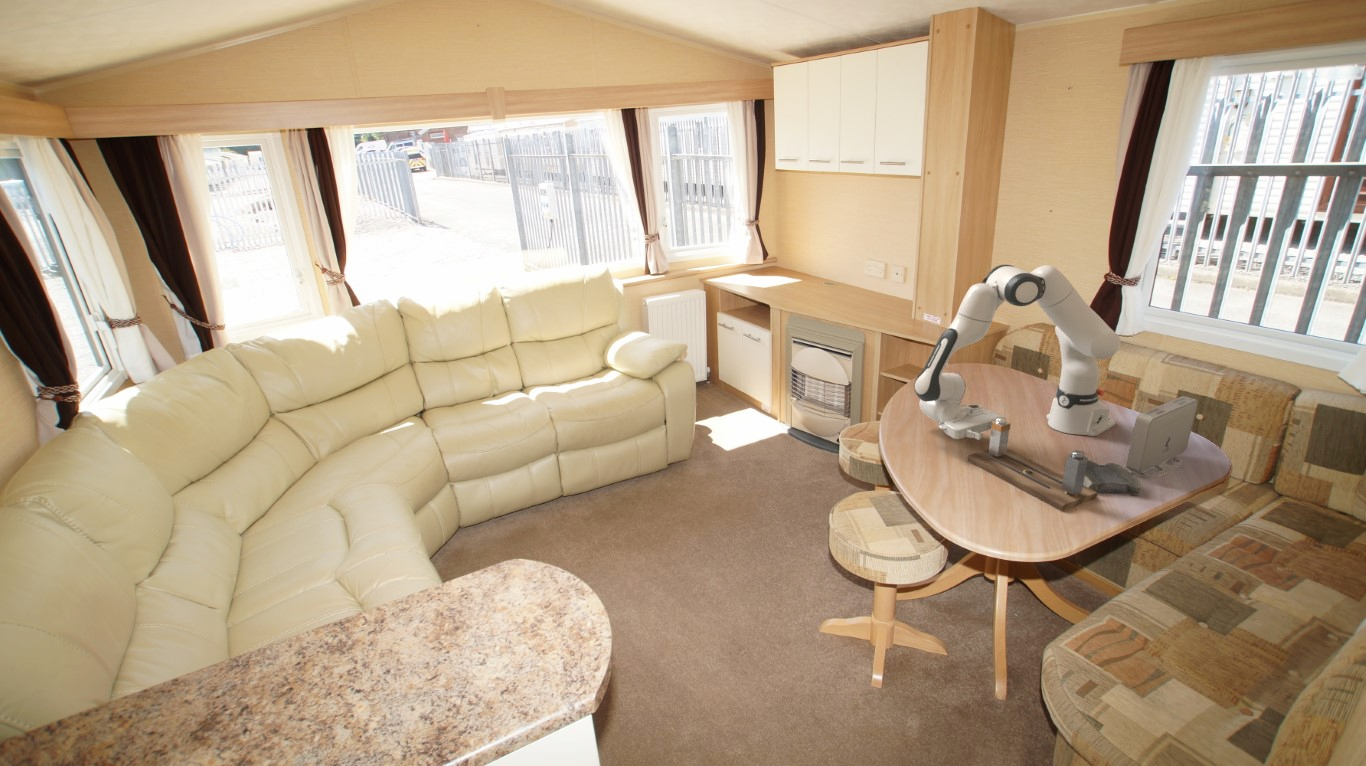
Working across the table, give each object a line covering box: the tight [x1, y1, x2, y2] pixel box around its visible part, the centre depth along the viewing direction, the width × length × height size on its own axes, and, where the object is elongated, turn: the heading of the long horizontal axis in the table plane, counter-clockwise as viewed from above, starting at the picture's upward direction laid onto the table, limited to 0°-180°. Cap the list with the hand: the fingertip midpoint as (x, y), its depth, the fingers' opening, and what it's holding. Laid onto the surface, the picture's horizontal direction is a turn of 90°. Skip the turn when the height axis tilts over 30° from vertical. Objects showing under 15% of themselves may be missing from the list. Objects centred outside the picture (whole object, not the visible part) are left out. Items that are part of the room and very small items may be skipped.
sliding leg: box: [988, 416, 1011, 457], centre depth 201 cm, size 4×4×13 cm
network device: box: [1125, 395, 1199, 479], centre depth 193 cm, size 26×9×20 cm, turn 117°
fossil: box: [1083, 459, 1143, 497], centre depth 189 cm, size 15×16×4 cm
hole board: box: [967, 448, 1098, 512], centre depth 194 cm, size 14×34×3 cm, turn 23°
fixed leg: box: [1061, 449, 1089, 495], centre depth 179 cm, size 4×4×13 cm
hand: (991, 433), depth 204 cm, fingers open, 8 cm apart
